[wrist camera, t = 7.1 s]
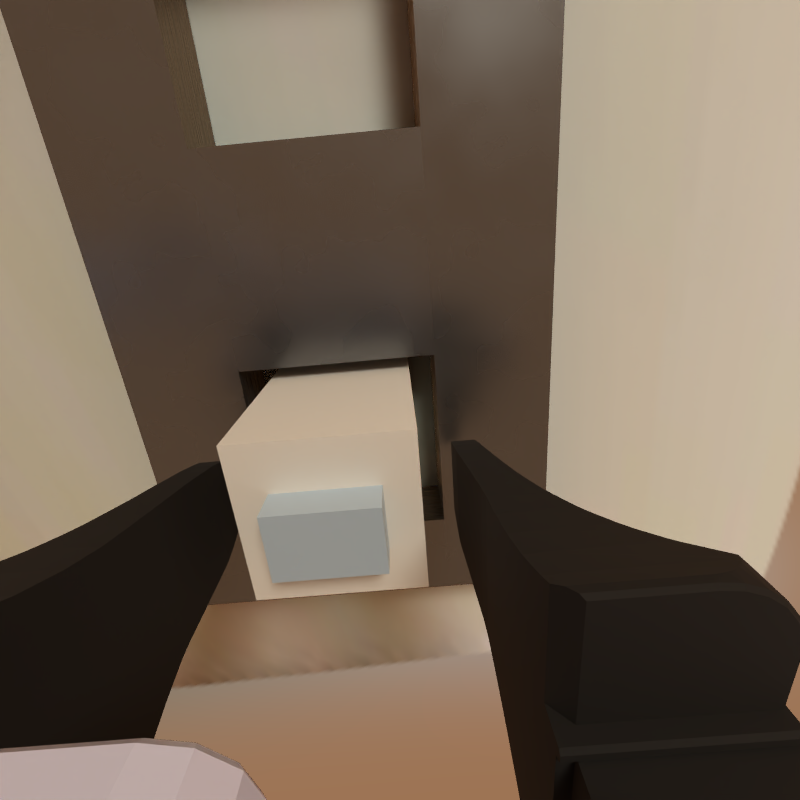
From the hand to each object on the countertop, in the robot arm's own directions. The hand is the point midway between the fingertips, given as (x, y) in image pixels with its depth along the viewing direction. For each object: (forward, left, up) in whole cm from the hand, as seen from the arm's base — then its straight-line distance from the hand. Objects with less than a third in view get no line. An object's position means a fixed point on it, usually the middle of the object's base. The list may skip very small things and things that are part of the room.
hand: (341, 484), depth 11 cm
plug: (0, 0, -4) cm, 4 cm away
